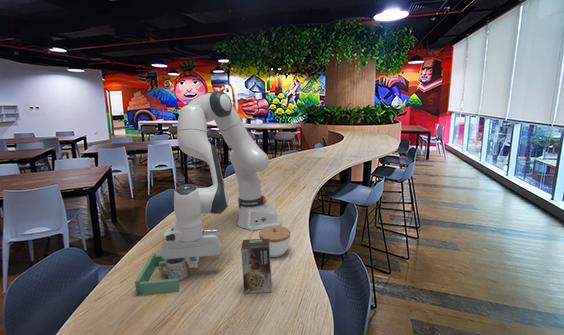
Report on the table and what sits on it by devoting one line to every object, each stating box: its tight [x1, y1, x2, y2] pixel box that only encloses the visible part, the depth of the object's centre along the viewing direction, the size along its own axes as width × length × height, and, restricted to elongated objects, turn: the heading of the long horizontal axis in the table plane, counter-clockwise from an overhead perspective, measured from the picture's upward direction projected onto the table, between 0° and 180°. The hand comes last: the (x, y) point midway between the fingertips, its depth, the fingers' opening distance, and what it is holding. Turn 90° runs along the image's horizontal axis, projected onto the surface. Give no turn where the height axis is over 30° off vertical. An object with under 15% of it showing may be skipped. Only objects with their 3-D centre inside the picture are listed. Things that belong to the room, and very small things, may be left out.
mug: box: [158, 258, 189, 282], centre depth 105 cm, size 10×7×7 cm, turn 83°
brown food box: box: [240, 238, 273, 294], centre depth 96 cm, size 9×6×16 cm
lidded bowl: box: [258, 225, 291, 258], centre depth 119 cm, size 13×13×11 cm
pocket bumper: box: [134, 252, 189, 296], centre depth 104 cm, size 13×18×5 cm
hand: (193, 267), depth 105 cm, fingers closed
